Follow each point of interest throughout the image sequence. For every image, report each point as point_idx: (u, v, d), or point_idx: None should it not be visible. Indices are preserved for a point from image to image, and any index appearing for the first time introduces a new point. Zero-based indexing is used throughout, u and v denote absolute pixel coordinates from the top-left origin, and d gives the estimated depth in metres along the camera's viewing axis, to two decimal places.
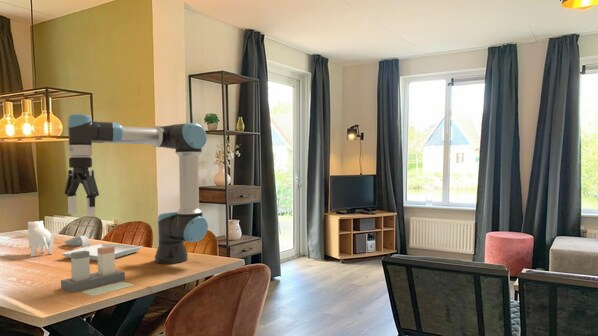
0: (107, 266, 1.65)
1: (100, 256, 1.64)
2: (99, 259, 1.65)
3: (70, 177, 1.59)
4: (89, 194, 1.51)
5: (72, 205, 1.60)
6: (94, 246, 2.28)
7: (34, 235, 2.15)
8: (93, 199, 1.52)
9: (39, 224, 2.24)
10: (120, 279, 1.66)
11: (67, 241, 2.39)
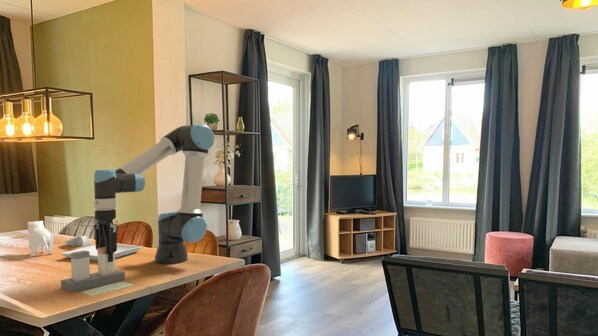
0: None
1: (100, 256, 1.64)
2: (99, 259, 1.65)
3: (97, 231, 1.68)
4: (108, 251, 1.63)
5: None
6: (94, 246, 2.28)
7: (34, 235, 2.15)
8: (111, 254, 1.64)
9: (39, 224, 2.24)
10: (120, 279, 1.66)
11: (68, 241, 2.39)
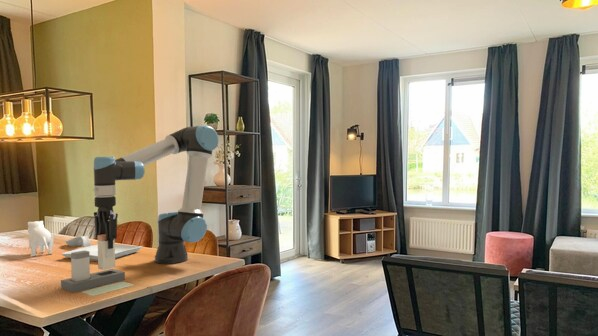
0: None
1: (100, 243, 1.64)
2: (99, 246, 1.65)
3: (97, 218, 1.68)
4: (108, 238, 1.63)
5: None
6: (94, 246, 2.28)
7: (34, 235, 2.15)
8: (111, 241, 1.64)
9: (39, 224, 2.24)
10: (120, 279, 1.66)
11: (68, 241, 2.39)
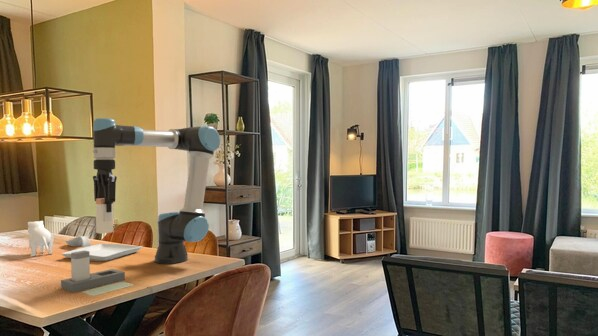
0: None
1: (98, 206, 1.61)
2: (97, 209, 1.61)
3: (96, 182, 1.65)
4: (106, 201, 1.60)
5: None
6: (94, 246, 2.28)
7: (34, 235, 2.15)
8: (110, 205, 1.61)
9: (39, 224, 2.24)
10: (120, 279, 1.66)
11: (68, 241, 2.39)
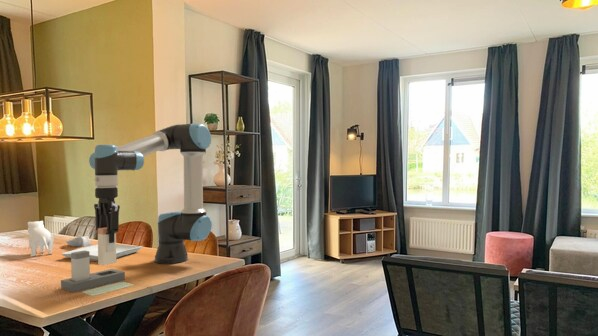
0: None
1: (101, 237, 1.54)
2: (99, 240, 1.54)
3: (97, 210, 1.58)
4: (109, 231, 1.53)
5: None
6: (94, 246, 2.28)
7: (34, 235, 2.15)
8: (112, 235, 1.54)
9: (39, 224, 2.24)
10: (120, 279, 1.66)
11: (69, 241, 2.38)
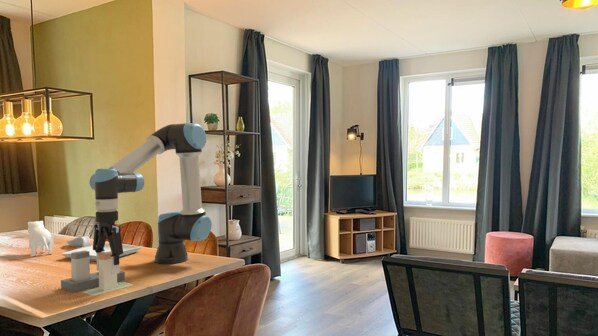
0: (109, 272, 1.55)
1: (101, 262, 1.54)
2: (100, 265, 1.55)
3: (97, 231, 1.59)
4: (114, 253, 1.52)
5: None
6: None
7: (34, 235, 2.15)
8: (117, 257, 1.53)
9: (39, 224, 2.24)
10: (120, 279, 1.66)
11: (69, 241, 2.38)
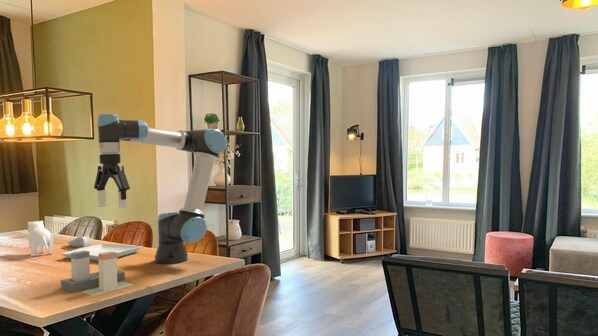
0: (109, 272, 1.55)
1: (101, 262, 1.54)
2: (100, 265, 1.55)
3: (99, 172, 1.71)
4: (121, 188, 1.63)
5: (102, 198, 1.72)
6: (94, 246, 2.28)
7: (34, 235, 2.15)
8: (124, 192, 1.64)
9: (39, 224, 2.24)
10: (120, 279, 1.66)
11: (70, 241, 2.38)
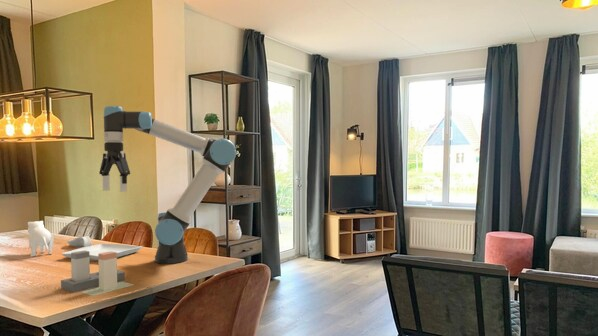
0: (109, 272, 1.55)
1: (101, 262, 1.54)
2: (100, 265, 1.55)
3: (104, 159, 1.88)
4: (122, 173, 1.80)
5: (106, 183, 1.89)
6: (94, 246, 2.28)
7: (34, 235, 2.15)
8: (125, 177, 1.81)
9: (39, 224, 2.24)
10: (120, 279, 1.66)
11: (70, 242, 2.38)
